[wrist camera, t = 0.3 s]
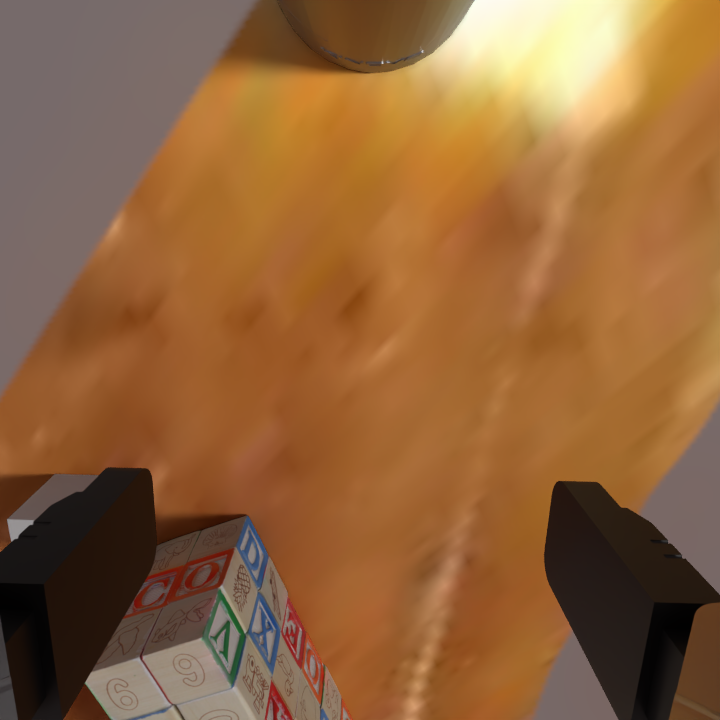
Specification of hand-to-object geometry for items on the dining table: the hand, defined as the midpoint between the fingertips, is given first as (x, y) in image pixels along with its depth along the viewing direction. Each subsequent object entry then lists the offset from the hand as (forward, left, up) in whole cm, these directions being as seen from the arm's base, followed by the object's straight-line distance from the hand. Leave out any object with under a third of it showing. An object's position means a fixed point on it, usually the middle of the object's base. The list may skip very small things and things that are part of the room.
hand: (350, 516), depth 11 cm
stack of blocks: (+23, -5, -19) cm, 30 cm away
